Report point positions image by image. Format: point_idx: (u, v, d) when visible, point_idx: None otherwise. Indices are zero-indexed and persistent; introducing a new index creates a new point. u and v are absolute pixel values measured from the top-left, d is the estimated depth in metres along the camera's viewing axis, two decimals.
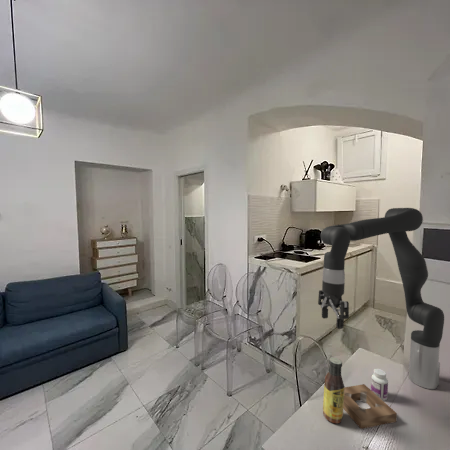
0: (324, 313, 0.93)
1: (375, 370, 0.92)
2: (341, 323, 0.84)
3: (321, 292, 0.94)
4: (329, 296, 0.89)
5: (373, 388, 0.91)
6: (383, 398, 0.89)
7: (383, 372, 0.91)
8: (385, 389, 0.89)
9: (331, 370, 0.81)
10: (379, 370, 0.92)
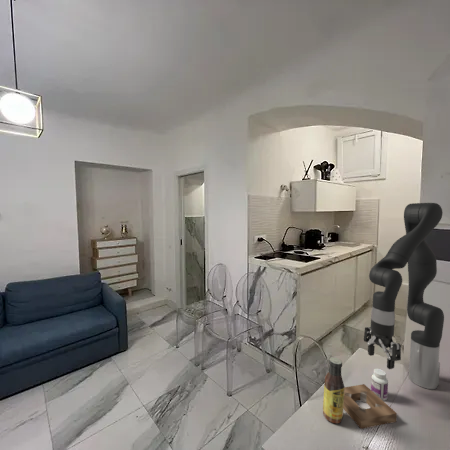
0: (371, 350, 0.95)
1: (375, 370, 0.92)
2: (392, 364, 0.86)
3: (367, 329, 0.96)
4: (378, 335, 0.91)
5: (373, 388, 0.91)
6: (383, 398, 0.89)
7: (383, 372, 0.91)
8: (385, 389, 0.89)
9: (331, 370, 0.81)
10: (379, 370, 0.92)
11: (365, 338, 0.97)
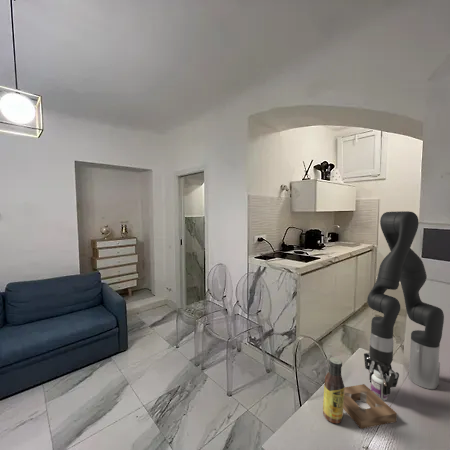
0: None
1: (375, 370, 0.92)
2: (388, 390, 0.88)
3: (366, 355, 0.97)
4: (377, 361, 0.91)
5: (373, 388, 0.91)
6: (383, 398, 0.89)
7: None
8: None
9: (331, 370, 0.81)
10: None
11: (366, 365, 0.96)
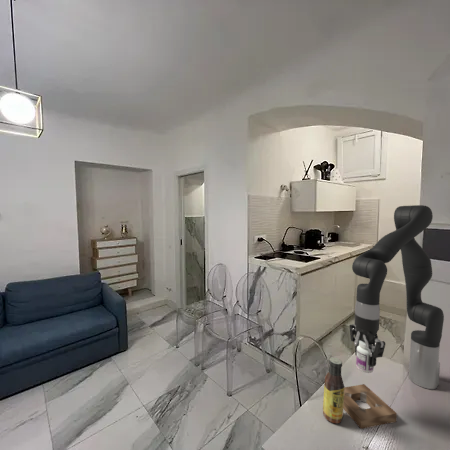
0: None
1: (360, 341, 0.85)
2: (374, 361, 0.81)
3: (352, 326, 0.90)
4: (362, 331, 0.85)
5: (358, 360, 0.84)
6: (369, 370, 0.82)
7: None
8: None
9: (331, 370, 0.81)
10: None
11: (352, 337, 0.89)
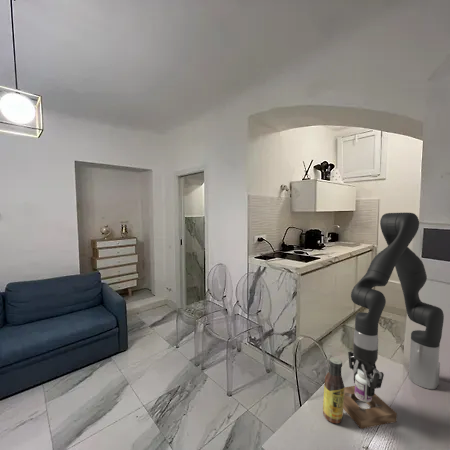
0: None
1: (359, 370, 0.86)
2: (372, 391, 0.81)
3: (351, 354, 0.90)
4: (361, 360, 0.85)
5: (357, 389, 0.85)
6: (367, 400, 0.83)
7: None
8: None
9: (331, 370, 0.81)
10: None
11: (350, 364, 0.90)
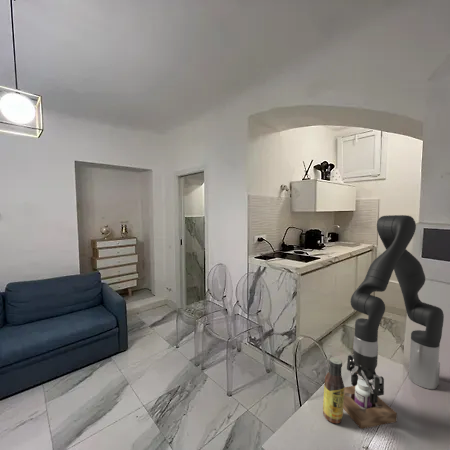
0: (354, 380, 0.89)
1: (359, 381, 0.86)
2: (375, 398, 0.80)
3: (350, 358, 0.90)
4: (361, 366, 0.85)
5: (356, 400, 0.85)
6: None
7: None
8: (368, 402, 0.83)
9: (331, 370, 0.81)
10: (363, 381, 0.86)
11: (348, 367, 0.91)
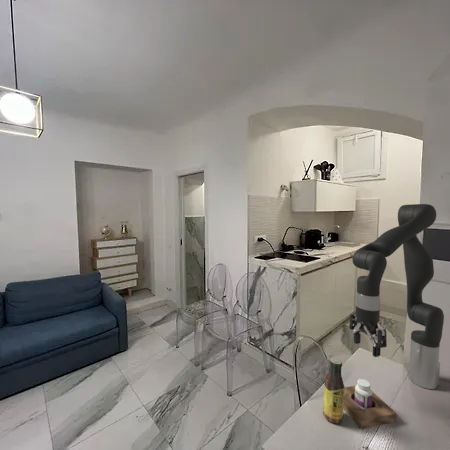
0: (356, 338, 0.90)
1: (359, 381, 0.86)
2: (378, 351, 0.81)
3: (353, 316, 0.91)
4: (363, 322, 0.86)
5: (356, 400, 0.85)
6: None
7: (367, 383, 0.85)
8: (368, 402, 0.83)
9: (331, 370, 0.81)
10: (363, 381, 0.86)
11: (351, 326, 0.92)
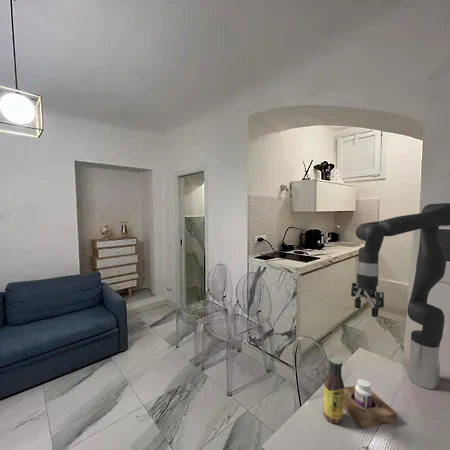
0: (357, 303, 1.01)
1: (359, 381, 0.86)
2: (376, 312, 0.92)
3: (354, 284, 1.02)
4: (363, 287, 0.97)
5: (356, 400, 0.85)
6: None
7: (367, 383, 0.85)
8: (368, 402, 0.83)
9: (331, 370, 0.81)
10: (363, 381, 0.86)
11: (352, 293, 1.03)
